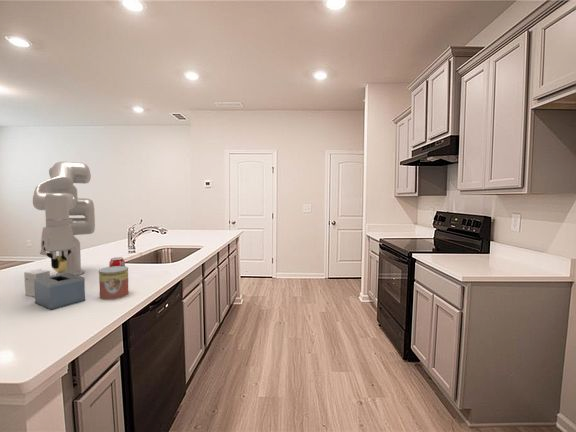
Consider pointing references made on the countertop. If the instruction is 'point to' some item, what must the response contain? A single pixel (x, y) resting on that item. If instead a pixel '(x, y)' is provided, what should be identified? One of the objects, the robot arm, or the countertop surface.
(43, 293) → the grey block
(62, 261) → the golden tan rectangular block
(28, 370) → the countertop surface
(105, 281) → the canned food
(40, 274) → the small box
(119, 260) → the soda can
